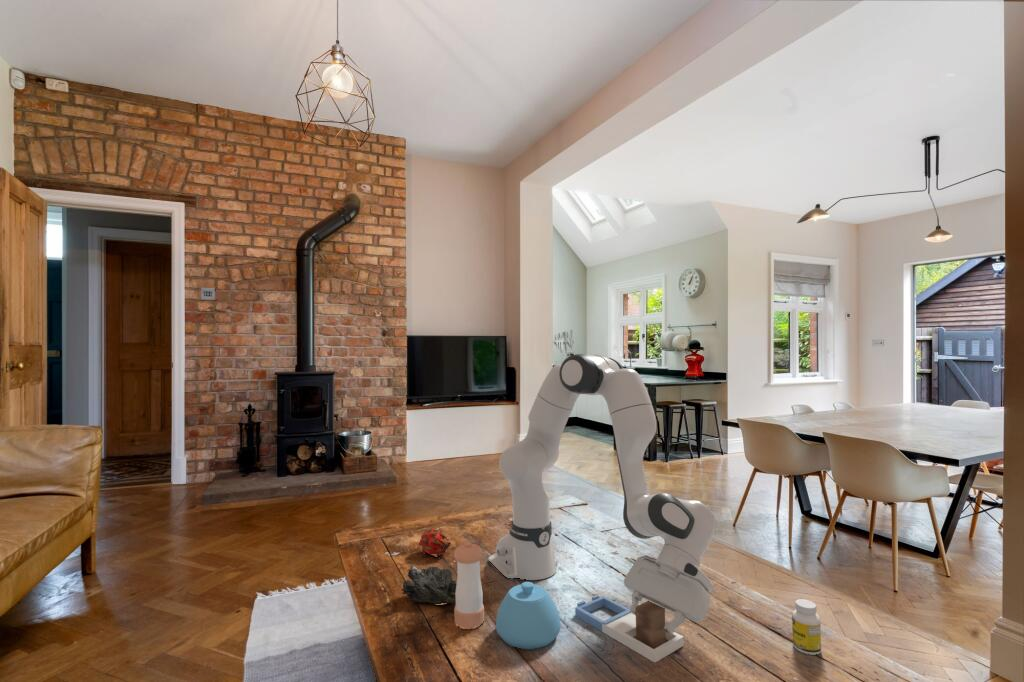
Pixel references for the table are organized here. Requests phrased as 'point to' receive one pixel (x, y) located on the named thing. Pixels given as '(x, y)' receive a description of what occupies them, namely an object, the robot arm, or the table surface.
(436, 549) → the dragon fruit
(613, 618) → the two-window frame tray
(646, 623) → the walnut block
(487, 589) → the table surface
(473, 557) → the pepper shaker
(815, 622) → the supplement bottle
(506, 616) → the sugar bowl
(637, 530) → the robot arm
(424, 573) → the mineral specimen
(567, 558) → the table surface
